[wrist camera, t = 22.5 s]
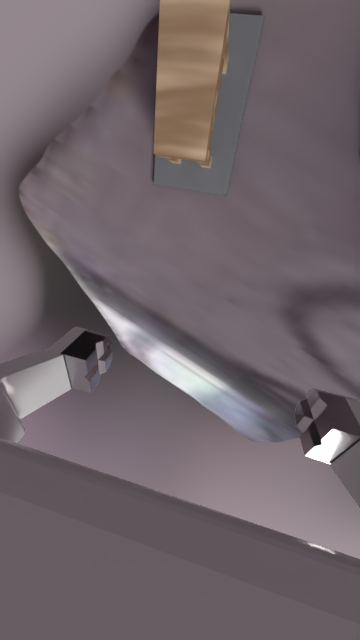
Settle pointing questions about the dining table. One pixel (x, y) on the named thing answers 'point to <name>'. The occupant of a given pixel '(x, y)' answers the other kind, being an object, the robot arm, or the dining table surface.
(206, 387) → the dining table surface
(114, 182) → the dining table surface
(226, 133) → the mat
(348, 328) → the dining table surface
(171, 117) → the stool
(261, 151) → the dining table surface
